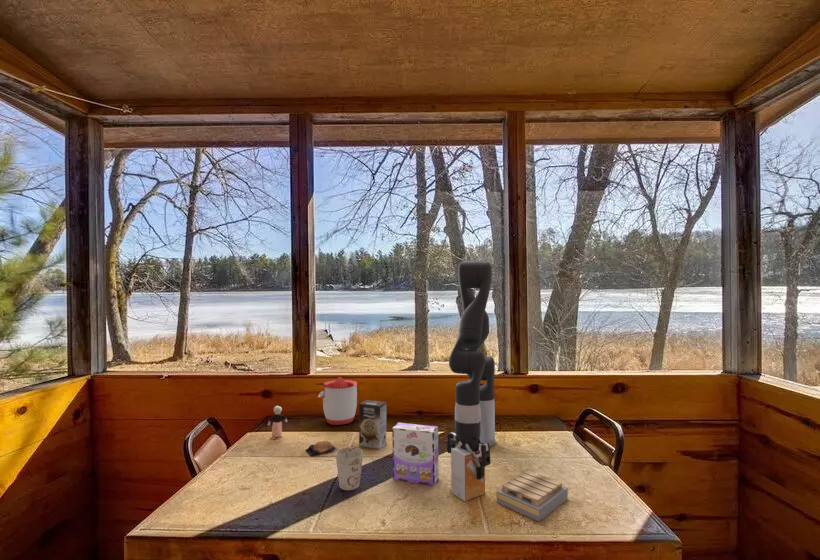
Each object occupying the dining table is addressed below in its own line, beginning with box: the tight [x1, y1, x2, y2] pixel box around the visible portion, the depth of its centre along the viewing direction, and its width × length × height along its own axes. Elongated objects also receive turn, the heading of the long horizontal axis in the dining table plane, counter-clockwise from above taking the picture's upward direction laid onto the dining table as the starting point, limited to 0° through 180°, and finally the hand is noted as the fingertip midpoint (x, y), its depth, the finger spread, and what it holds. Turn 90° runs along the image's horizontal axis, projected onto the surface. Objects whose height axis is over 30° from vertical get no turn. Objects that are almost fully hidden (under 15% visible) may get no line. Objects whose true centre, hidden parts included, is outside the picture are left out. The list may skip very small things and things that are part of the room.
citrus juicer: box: [318, 376, 358, 426], centre depth 180 cm, size 16×17×20 cm
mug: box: [335, 446, 364, 491], centre depth 124 cm, size 8×13×10 cm, turn 27°
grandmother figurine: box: [267, 405, 288, 440], centre depth 162 cm, size 8×4×13 cm, turn 129°
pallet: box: [501, 469, 563, 506], centre depth 113 cm, size 11×14×2 cm
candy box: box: [391, 422, 440, 486], centre depth 126 cm, size 14×6×16 cm, turn 71°
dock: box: [495, 485, 569, 522], centre depth 113 cm, size 13×16×3 cm
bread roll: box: [305, 440, 339, 458], centre depth 149 cm, size 11×8×4 cm
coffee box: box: [358, 399, 388, 450], centre depth 154 cm, size 9×6×16 cm
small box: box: [450, 447, 486, 502], centre depth 117 cm, size 8×6×13 cm
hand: (468, 473), depth 117 cm, fingers open, 8 cm apart
